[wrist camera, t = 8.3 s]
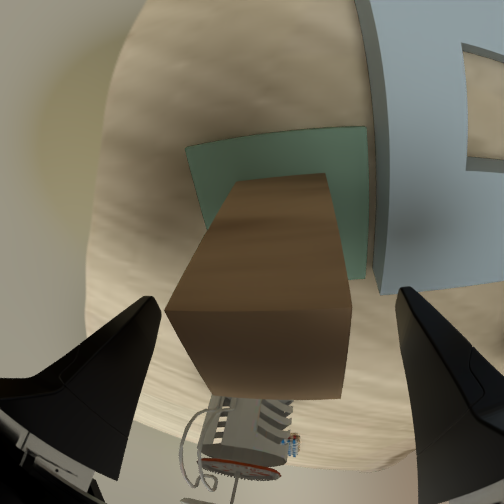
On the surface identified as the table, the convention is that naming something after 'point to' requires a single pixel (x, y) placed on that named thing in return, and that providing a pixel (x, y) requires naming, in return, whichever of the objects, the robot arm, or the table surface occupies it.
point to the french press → (241, 440)
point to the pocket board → (431, 144)
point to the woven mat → (292, 444)
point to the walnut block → (268, 294)
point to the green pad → (294, 163)
